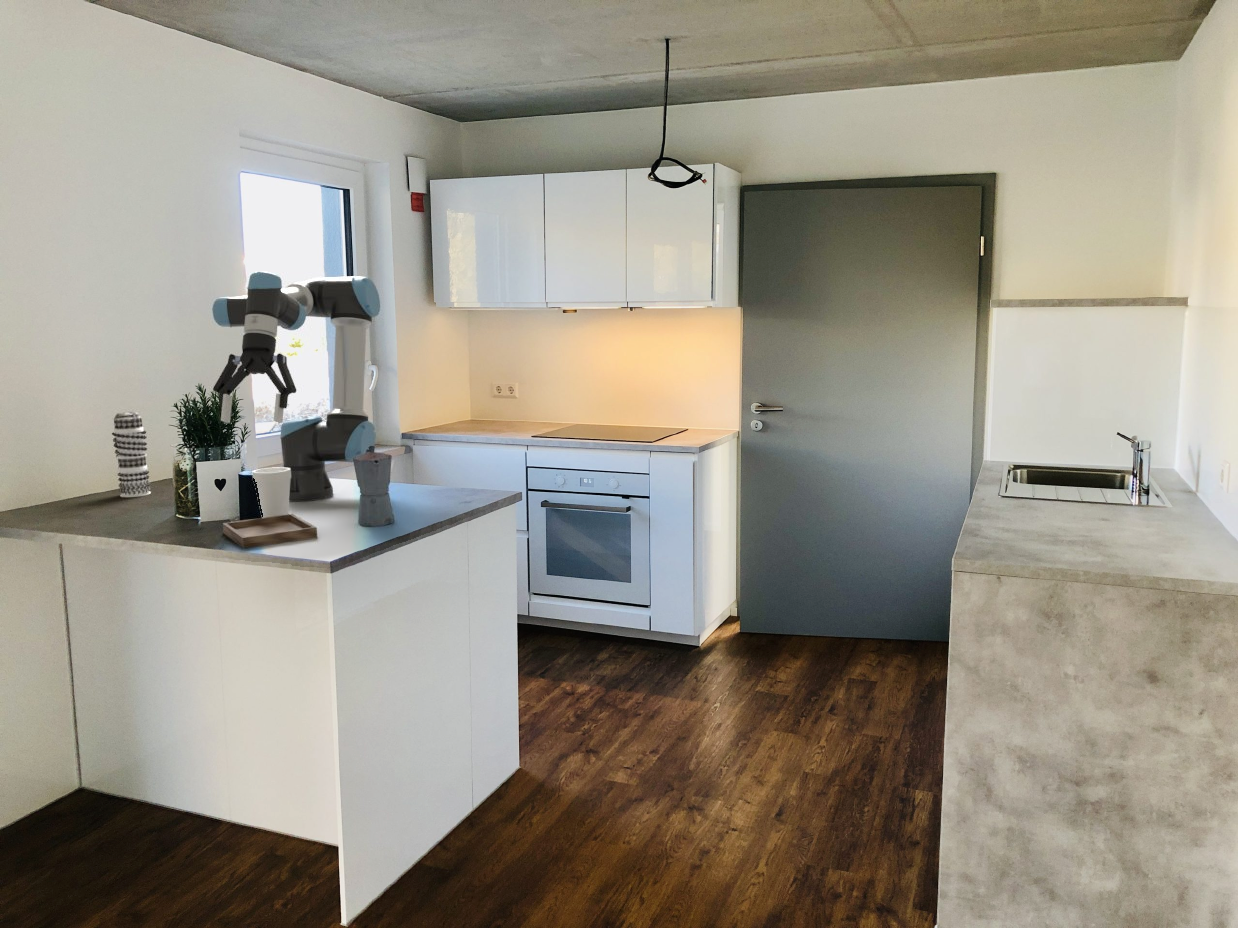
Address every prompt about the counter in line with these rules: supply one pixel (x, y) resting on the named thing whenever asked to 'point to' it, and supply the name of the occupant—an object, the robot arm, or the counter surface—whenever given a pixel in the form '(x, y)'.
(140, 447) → the decorative candle
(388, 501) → the moka pot
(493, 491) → the counter surface
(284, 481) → the foam cup
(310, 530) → the walnut tray
